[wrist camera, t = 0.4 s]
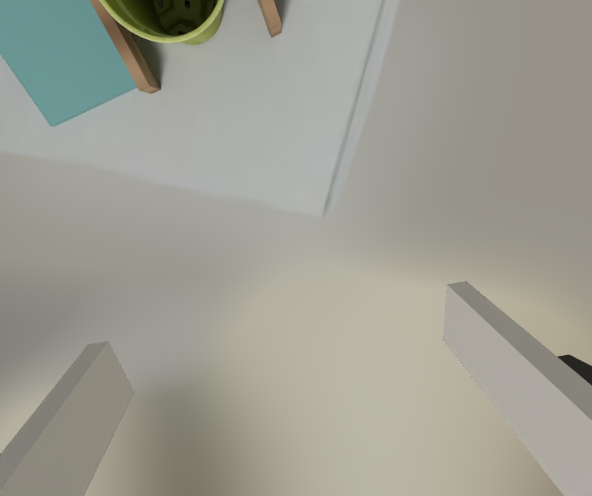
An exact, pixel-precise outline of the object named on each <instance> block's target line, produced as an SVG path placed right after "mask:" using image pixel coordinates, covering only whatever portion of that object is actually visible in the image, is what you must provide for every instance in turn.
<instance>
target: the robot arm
mask: <svg viewBox="0 0 592 496" xmlns="http://www.w3.org/2000/svg"><path fill="white" fill-rule="evenodd" d="M444 316H445V317H444V328H443V341H444V342H445V344H446V345H447V346H448V347H449V349H450V350H451V351H452V353H453V354H454V355H455V356H456V358H457V359H458V360H459V361H460V363H461V364H462V365H463V367H464V368H465V369H466V370H467V372H468V373H469V374H470V376H471V377H472V378H473V379H474V381H475V382H476V383H477V384H478V386H479V387H480V389H481V390H482V391H483V392H484V394H485V395H486V396H487V397H488V399H489V400H490V401H491V403H492V404H493V405H494V406H495V408H496V409H497V410H498V412H499V413H500V414H501V415H502V417H503V418H504V419H505V421H506V422H507V423H508V424H509V426H510V427H511V428H512V430H513V431H514V432H515V433H516V435H517V436H518V437H519V439H520V440H521V441H522V442H523V444H524V445H525V446H526V448H527V449H528V450H529V451H530V453H531V454H532V455H533V457H534V458H535V459H536V460H537V462H538V463H539V464H540V466H541V467H542V468H543V469H544V470H545V472H546V473H547V475H548V476H549V477H550V478H551V480H552V481H553V482H554V484H555V485H556V486H557V487H558V489H559V490H560V491H561V492H562V494H563V495H564V496H592V366H591V365H589V364H587V363H585V362H583V361H581V360H579V359H576V358H575V357H573V356H571V355H564V356H558V357H557V356H556V355H554V354H553V353H552V352H551V351H549V350H548V349H547V348H546V347H545V346H543V345H542V344H541V343H540V342H539V341H538V340H536V339H535V338H534V337H533V336H531V335H530V334H529V333H528V332H527V331H525V330H524V329H523V328H522V327H521V326H519V325H518V324H517V323H516V322H514V321H513V320H512V319H511V318H509V316H507V315H506V314H505V313H504V312H503V311H501V310H500V309H499V308H498V307H496V306H495V305H494V304H493V303H492V302H491V301H489V300H488V299H487V298H486V297H485V296H483V295H482V294H481V293H480V292H479V291H477V290H476V289H475V288H474V287H473V286H471V285H470V284H469V283H468V282H467V281H465V282H459V283H453V284H447V291H446V303H445V315H444ZM134 393H135V392H134V390H133V388H132V386H131V384H130V382H129V380H128V378H127V376H126V374H125V372H124V370H123V368H122V366H121V364H120V363H119V361H118V359H117V357H116V355H115V353H114V351H113V349H112V347H111V345H110V343H109V341H106V342H100V343H94V344H89V345H87V347H86V348H85V349H84V350H83V352H82V353H81V354H80V355H79V357H78V358H77V359H76V360H75V362H74V363H73V364H72V365H71V367H70V368H69V369H68V371H67V372H66V373H65V374H64V375H63V377H62V378H61V379H60V380H59V382H58V383H57V384H56V386H55V387H54V388H53V389H52V390H51V392H50V393H49V394H48V395H47V397H46V398H45V399H44V400H43V402H42V403H41V404H40V405H39V407H38V408H37V409H36V411H35V412H34V413H33V414H32V415H31V417H30V418H29V419H28V420H27V422H26V423H25V424H24V425H23V427H22V428H21V429H20V430H19V432H18V433H17V434H16V435H15V437H14V438H13V439H12V441H11V442H10V443H9V444H8V445H7V447H6V448H5V449H4V451H3V452H2V453H1V454H0V496H84V495H85V492H86V490H87V488H88V486H89V484H90V482H91V480H92V478H93V476H94V474H95V472H96V470H97V468H98V466H99V464H100V462H101V460H102V458H103V456H104V454H105V452H106V450H107V448H108V446H109V444H110V442H111V440H112V438H113V436H114V433H115V431H116V429H117V427H118V425H119V423H120V421H121V419H122V417H123V415H124V413H125V411H126V409H127V407H128V405H129V403H130V401H131V399H132V397H133V395H134Z"/></svg>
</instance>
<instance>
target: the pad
mask: <svg viewBox="0 0 592 496" xmlns="http://www.w3.org/2000/svg"><path fill="white" fill-rule="evenodd" d="M0 54H1V55H2V57H3V58H4V60H5V61H6V63H7V64H8V65H9V67H10V68H11V70H12V71H13V73H14V74H15V75H16V77H17V78H18V80H19V81H20V83H21V84H22V86H23V87H24V88H25V90H26V91H27V93H28V94H29V96H30V97H31V98H32V100H33V101H34V103H35V104H36V106H37V107H38V109H39V110H40V111H41V113H42V114H43V116H44V117H45V119H46V120H47V121H48V123H49V124H50V126H56V125H59V124H61V123H63V122H65V121H67V120H69V119H71V118H73V117H75V116H78V115H80V114H82V113H84V112H86V111H88V110H90V109H92V108H94V107H97V106H99V105H101V104H103V103H105V102H107V101H109V100H111V99H113V98H116V97H118V96H120V95H122V94H124V93H126V92H128V91H130V90H133V89H135V88H137V85H136V83H135V81H134V79H133V78H132V76H131V74H130V72H129V70H128V69H127V67H126V65H125V63H124V61H123V60H122V58H121V56H120V54H119V52H118V51H117V49H116V47H115V45H114V43H113V42H112V40H111V38H110V36H109V34H108V32H107V31H106V29H105V27H104V25H103V23H102V22H101V20H100V18H99V16H98V14H97V13H96V11H95V9H94V7H93V5H92V4H91V2H90V0H0Z"/></svg>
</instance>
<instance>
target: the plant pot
mask: <svg viewBox="0 0 592 496" xmlns="http://www.w3.org/2000/svg"><path fill="white" fill-rule="evenodd" d="M99 1H100V2H101V3H102V5H103V6H104V7H105V9H106V10H107V11H108V12H109V13H110V15H111V16H112V17H113V18H114V19H115V20H116V21H118V22H119V23H120V24H121V25H122V26H124V27H125V28H126V29H128V30H129V31H131V32H133V33H135V34H136V35H138V36H140V37H143V38H145V39H148V40H150V41H154V42H159V43H179V42H182V43H185V44H190V45H197V44H201V43H203V42H205V41H207V40H209V39H210V38H211V37H212V36H213V35H214V34H215V33H216V31H217V30H218V28H219V25H220V23H221V19H222V6H223V3H224V0H163V1H162V2H163V7H161V6H160V5H159V0H99ZM185 1H189V2H190V7H189V8H186V7H185ZM213 4H215V5H216V6H215V8H214V10H213ZM179 31H181V32H183V33H186V34H184V35H179Z"/></svg>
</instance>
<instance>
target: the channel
mask: <svg viewBox="0 0 592 496" xmlns="http://www.w3.org/2000/svg"><path fill="white" fill-rule="evenodd" d="M90 2H91V4H92V5H93V7H94V9H95V11H96V13H97V14H98V16H99V18H100V20H101V22H102V23H103V25H104V27H105V29H106V31H107V32H108V34H109V36H110V38H111V40H112V42H113V43H114V45H115V47H116V49H117V51H118V52H119V54H120V56H121V58H122V60H123V61H124V63H125V65H126V67H127V69H128V70H129V72H130V74H131V76H132V78H133V79H134V81H135V83H136V85H137V87H138V89H139V90H140V91H143V92H147V93H151V94H152V93H154V92H156V91H159V90H161V89H160V87H159V85H158V83H157V81H156V79H155V77H154V76H153V74H152V72H151V70H150V68H149V66H148V64H147V62H146V60H145V58H144V57H143V55H142V53H141V51H140V49H139V47H138V45H137V43H136V41H135V39H134V37H133V36H132V34H131V32H130V31H129V30H128V29H126V28H125V27H124V26H122V25H121V24H120V23H119V22H118V21H116V20H115V19H114V18H113V17H112V16H111V15H110V13H109V12H108V11H107V10H106V9H105V7H104V6H103V5H102V3H101V2H100V1H99V0H90ZM258 3H259V5H260V8H261V11H262V14H263V16H264V19H265V22H266V25H267V27H268V30H269V33H270V36H271V38H272V37H274V36H276V35H278V34H280V33H281V26H282V23H281V20H280V17H279V14H278V11H277V8H276V5H275V3H274V0H258Z"/></svg>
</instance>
